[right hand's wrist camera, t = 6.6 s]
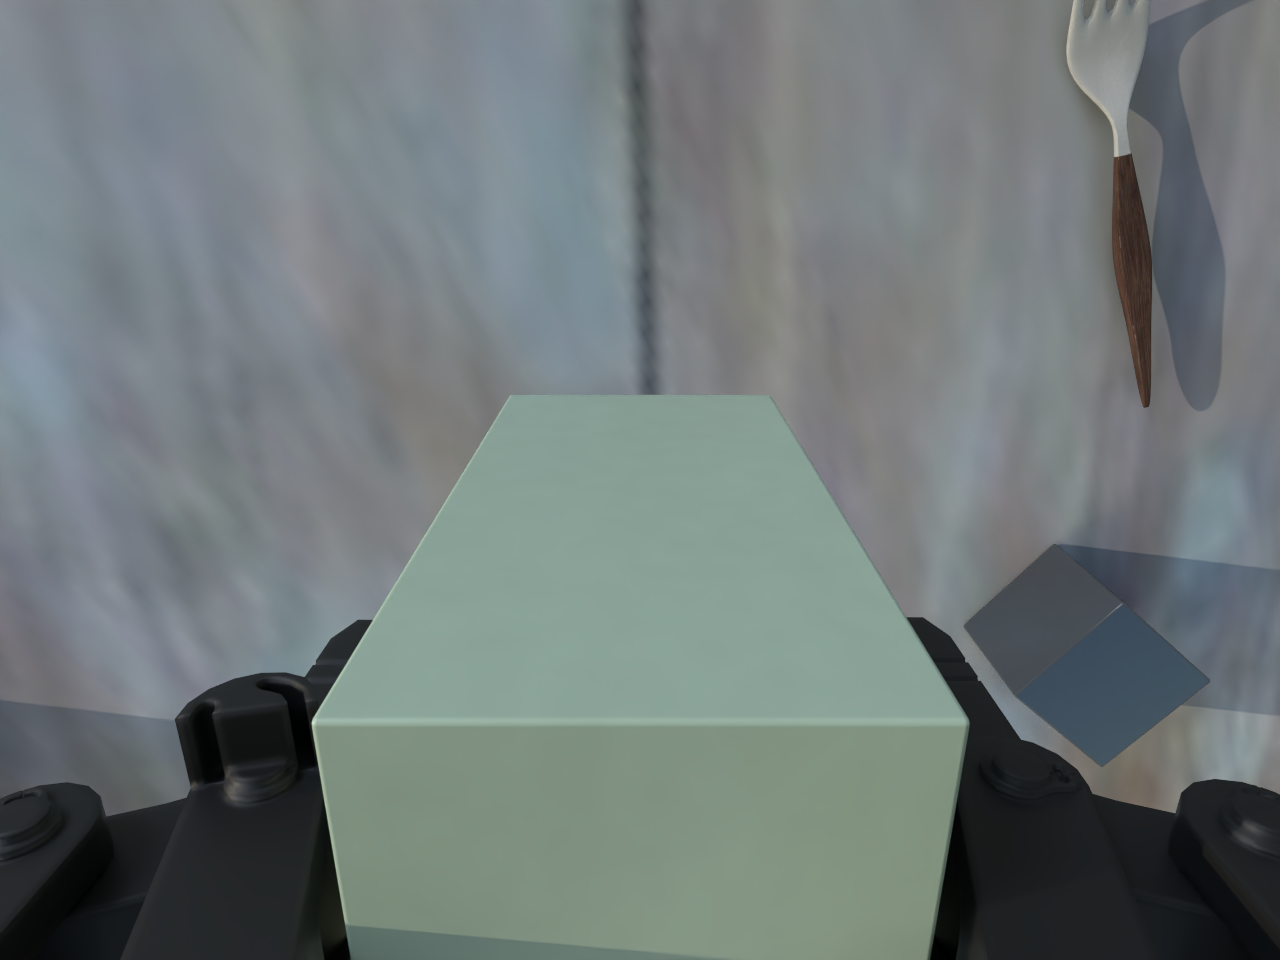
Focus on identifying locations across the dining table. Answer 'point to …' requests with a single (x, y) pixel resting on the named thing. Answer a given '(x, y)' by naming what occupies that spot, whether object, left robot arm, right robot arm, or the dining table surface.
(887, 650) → the bar
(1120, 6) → the fork
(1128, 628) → the slate cube
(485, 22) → the dining table surface
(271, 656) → the dining table surface
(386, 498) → the dining table surface
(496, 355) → the dining table surface
